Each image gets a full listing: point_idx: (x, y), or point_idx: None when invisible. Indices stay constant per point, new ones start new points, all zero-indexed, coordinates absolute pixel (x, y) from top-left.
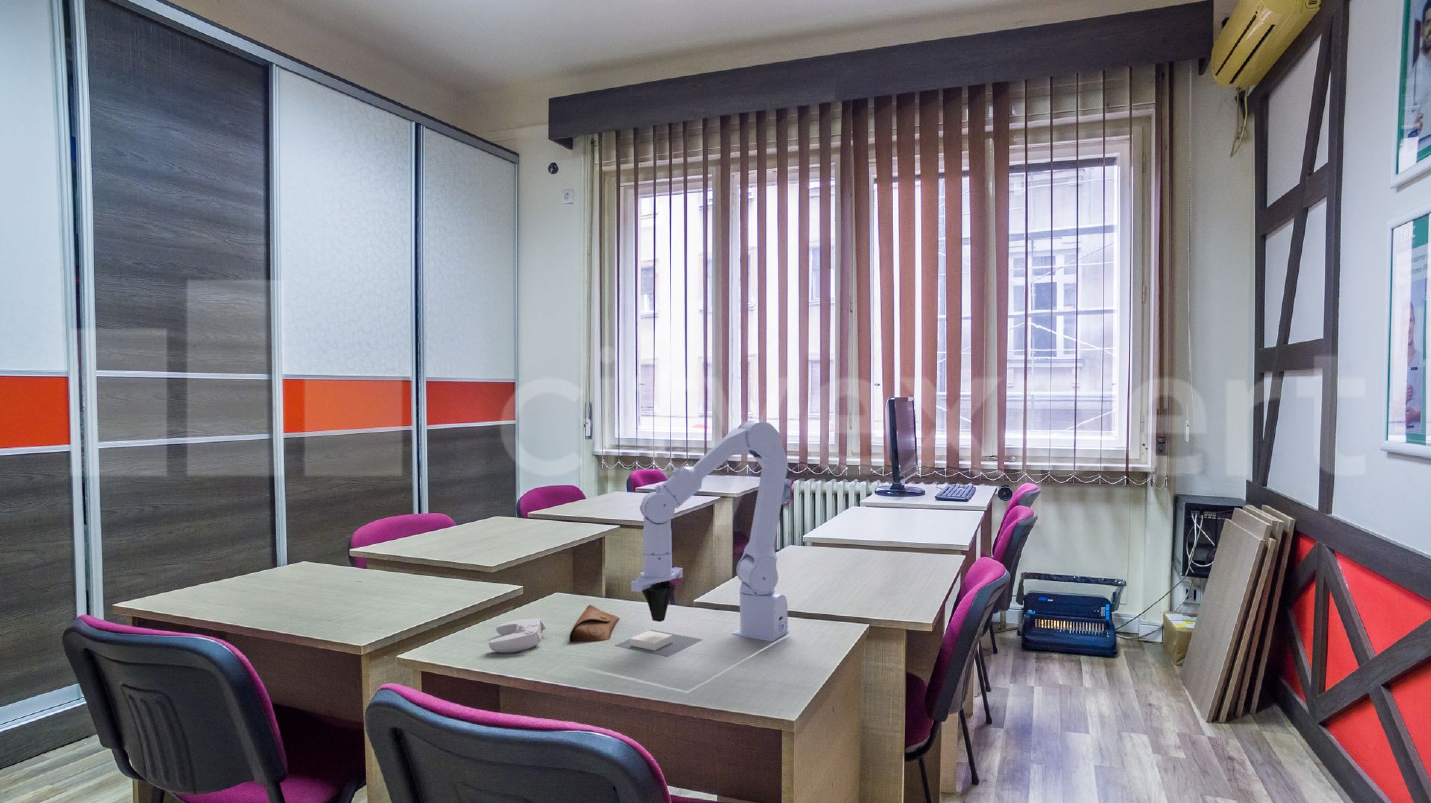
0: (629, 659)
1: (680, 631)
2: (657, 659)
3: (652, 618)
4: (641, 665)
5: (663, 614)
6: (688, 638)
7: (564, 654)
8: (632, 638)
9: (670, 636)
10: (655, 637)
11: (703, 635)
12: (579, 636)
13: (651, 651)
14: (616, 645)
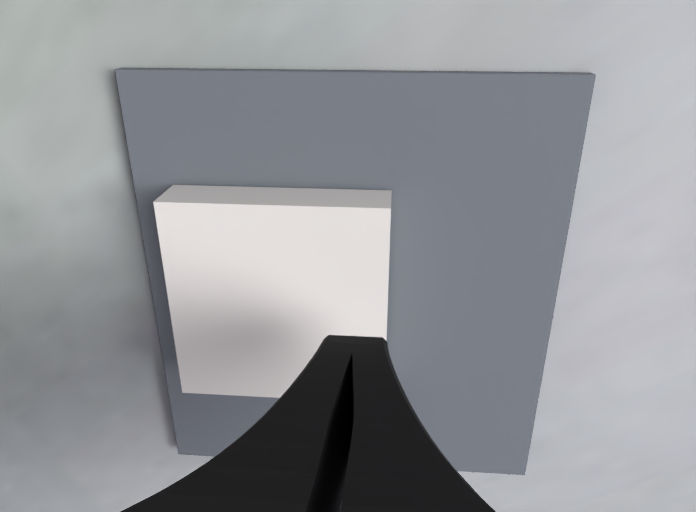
0: (37, 295)
1: (675, 262)
2: (140, 412)
3: (321, 345)
4: (24, 393)
5: (347, 461)
6: (506, 404)
7: None
8: (162, 218)
9: None
10: (279, 338)
11: (637, 421)
12: None
13: None
14: (124, 83)
